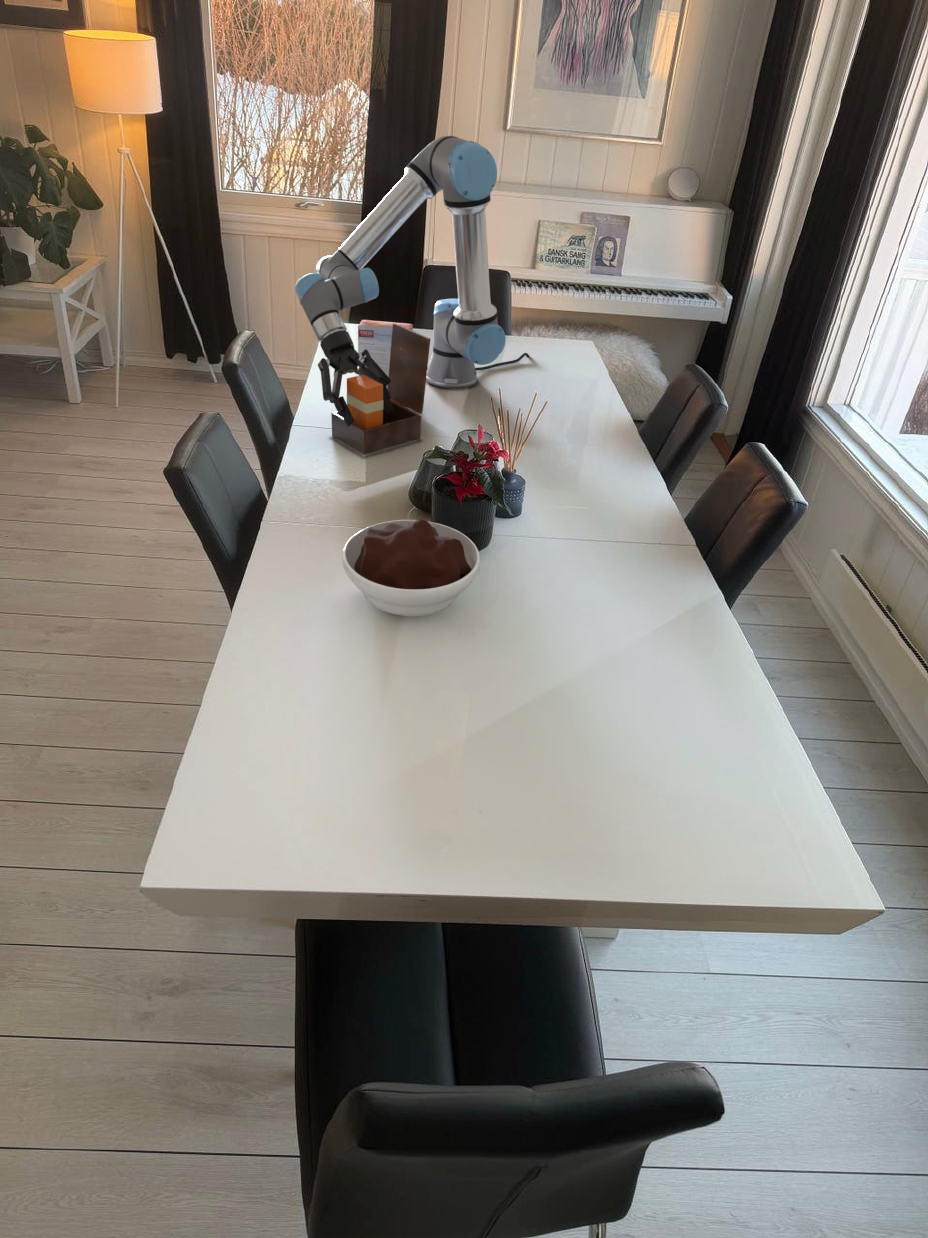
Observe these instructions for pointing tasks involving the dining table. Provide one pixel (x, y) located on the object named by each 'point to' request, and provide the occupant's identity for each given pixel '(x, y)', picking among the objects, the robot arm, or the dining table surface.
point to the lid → (408, 367)
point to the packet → (365, 401)
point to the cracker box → (378, 341)
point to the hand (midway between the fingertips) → (371, 418)
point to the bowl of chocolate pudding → (410, 565)
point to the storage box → (379, 430)
